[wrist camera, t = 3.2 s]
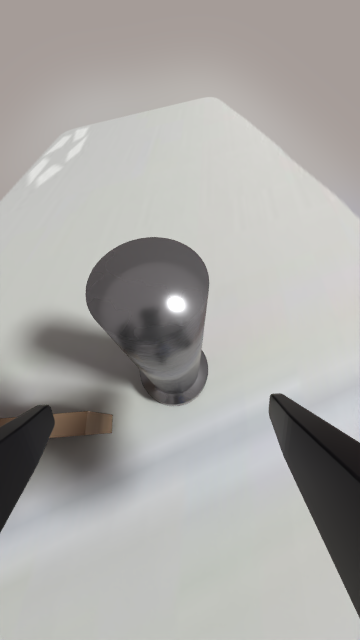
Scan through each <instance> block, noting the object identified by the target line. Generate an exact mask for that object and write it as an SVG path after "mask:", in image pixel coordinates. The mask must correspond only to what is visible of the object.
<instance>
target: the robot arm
mask: <svg viewBox="0 0 360 640" xmlns="http://www.w3.org/2000/svg"><path fill="white" fill-rule="evenodd" d="M269 416H270V419H271V422H272V425H273V428H274V430H275V433H276V436H277V439H278V442H279V445H280V447H281V450H282V453H283V456H284V458H285V460H286V462H287V464H288V467H289V469H290V471H291V473H292V475H293V477H294V479H295V482H296V484H297V486H298V488H299V490H300V492H301V494H302V496H303V499H304V501H305V503H306V505H307V507H308V509H309V511H310V513H311V516H312V518H313V520H314V522H315V524H316V526H317V528H318V530H319V533H320V535H321V537H322V539H323V541H324V543H325V545H326V547H327V550H328V552H329V554H330V556H331V558H332V560H333V562H334V564H335V567H336V569H337V571H338V573H339V575H340V577H341V579H342V581H343V584H344V586H345V588H346V590H347V592H348V594H349V596H350V598H351V601H352V603H353V605H354V607H355V609H356V611H357V613H358V615H359V618H360V443H359V442H358V441H356V440H355V439H353V438H351V437H350V436H348V435H347V434H345V433H343V432H342V431H340V430H339V429H337V428H336V427H334V426H332V425H331V424H329V423H328V422H326V421H324V420H323V419H321V418H320V417H318V416H316V415H315V414H313V413H312V412H310V411H309V410H307V409H305V408H304V407H302V406H301V405H299V404H297V403H296V402H294V401H293V400H291V399H289V398H288V397H286V396H285V395H283V394H280V393H279V394H271V395H270V401H269ZM54 425H55V419H54V416H53V413H52V410H51V407H50V406H49V405H38V406H36V407H34V408H32V409H31V410H29V411H27V412H26V413H24V414H22V415H20V416H19V417H17V418H15V419H13V420H12V421H10V422H8V423H6V424H5V425H3V426H1V427H0V532H1V530H2V529H3V527H4V525H5V523H6V521H7V520H8V518H9V516H10V514H11V512H12V510H13V509H14V507H15V505H16V503H17V501H18V499H19V498H20V496H21V494H22V492H23V490H24V488H25V487H26V485H27V483H28V481H29V479H30V477H31V476H32V474H33V472H34V470H35V468H36V466H37V464H38V462H39V460H40V458H41V455H42V453H43V451H44V449H45V446H46V444H47V442H48V440H49V437H50V435H51V433H52V430H53V428H54Z"/></svg>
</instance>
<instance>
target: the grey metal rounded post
mask: <svg viewBox="0 0 360 640" xmlns="http://www.w3.org/2000/svg"><path fill="white" fill-rule="evenodd" d="M208 291H209V276H208V272H207V269H206V266H205V264H204V262H203V261H202V259H201V258H200V257H199V255H198V254H197V253H196V252H195V251H193V250H192V249H191V248H189V247H188V246H186V245H184V244H182V243H180V242H178V241H175V240H171V239H167V238H158V237H150V238H141V239H136V240H132V241H129V242H126V243H124V244H122V245H120V246H118V247H116V248H114V249H113V250H111V251H110V252H108V253H107V254H106V255H105V256H104V257H102V258H101V259H100V261H99V262H98V263H97V264H96V265H95V267H94V268H93V270H92V272H91V274H90V276H89V278H88V281H87V285H86V302H87V306H88V309H89V311H90V313H91V315H92V316H93V318H94V319H95V320H96V321H97V322H98V324H99V325H100V326H101V327H102V328H103V329H104V330H105V331H106V332H107V333H108V335H109V336H110V337H111V338H112V339H113V340H114V341H115V342H116V343H117V345H118V346H119V347H120V348H121V349H122V350H123V351H124V352H125V353H126V354H127V356H128V357H129V358H130V359H131V360H132V361H133V362H134V363H135V364H136V365H137V367H138V368H139V369H140V376H141V381H142V384H143V386H144V388H145V389H146V391H147V392H148V393H149V394H150V396H152V397H153V398H154V399H155V400H157V401H158V402H160V403H162V404H165V405H168V406H181V405H184V404H187V403H189V402H191V401H193V400H194V399H195V398H196V397H198V395H199V394H200V393H201V391H202V390H203V388H204V386H205V383H206V380H207V376H208V364H207V360H206V357H205V355H204V353H203V351H202V350H201V349H202V340H203V332H204V324H205V316H206V307H207V299H208Z"/></svg>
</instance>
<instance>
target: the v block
mask: <svg viewBox="0 0 360 640" xmlns="http://www.w3.org/2000/svg"><path fill="white" fill-rule="evenodd" d="M53 416H54V419H55V425H54V428H53V430H52V433H51V435H50V437H49V438H56V437H68V436H80V435H92V434H104V433H112V418H113V415H110V414H103V413H97V412H90V411H84V412H72V413H60V414H53ZM15 418H17V417H13V418H1V419H0V427H1V426H3V425H5V424H6V423H8V422H10V421H12V420H13V419H15Z"/></svg>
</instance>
